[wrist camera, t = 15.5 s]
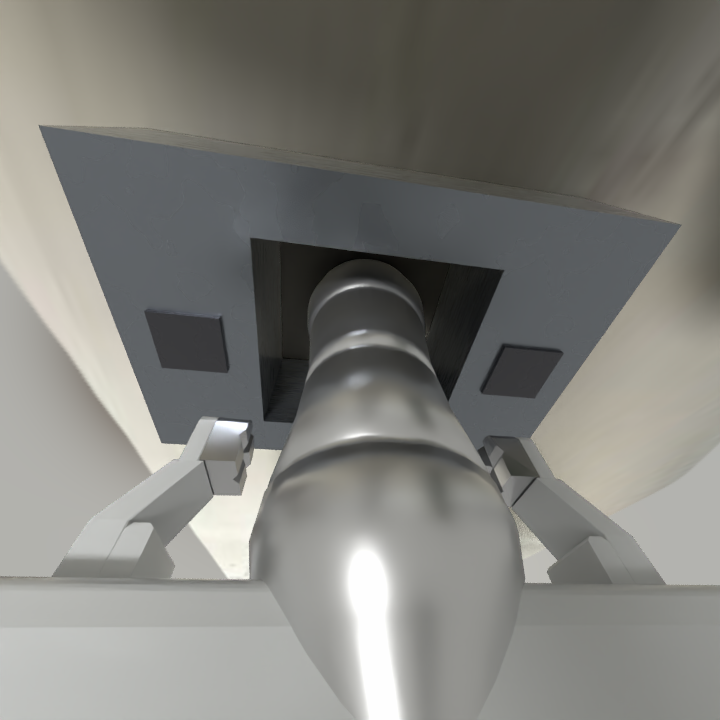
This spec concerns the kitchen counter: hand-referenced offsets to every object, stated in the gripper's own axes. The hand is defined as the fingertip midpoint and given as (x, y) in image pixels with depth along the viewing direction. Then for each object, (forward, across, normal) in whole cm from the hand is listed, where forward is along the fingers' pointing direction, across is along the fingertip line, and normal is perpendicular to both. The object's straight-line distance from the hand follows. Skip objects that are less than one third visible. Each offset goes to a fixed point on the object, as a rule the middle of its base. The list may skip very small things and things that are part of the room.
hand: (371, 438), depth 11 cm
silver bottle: (+11, 0, 0) cm, 11 cm away
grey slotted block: (+11, 0, 0) cm, 11 cm away
